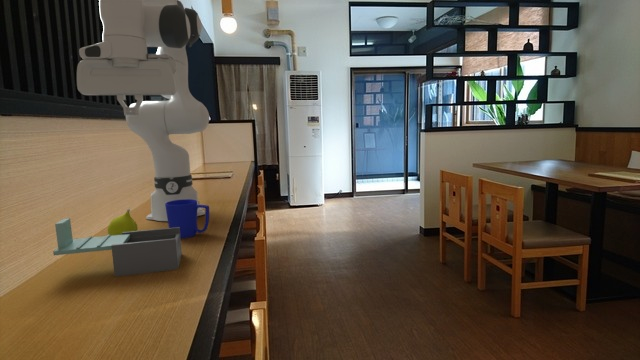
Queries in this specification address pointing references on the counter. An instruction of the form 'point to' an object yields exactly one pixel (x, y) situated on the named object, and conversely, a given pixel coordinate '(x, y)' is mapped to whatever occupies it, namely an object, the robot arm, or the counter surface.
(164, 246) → the grey box
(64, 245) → the lid
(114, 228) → the pear
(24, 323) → the counter surface
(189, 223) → the mug
